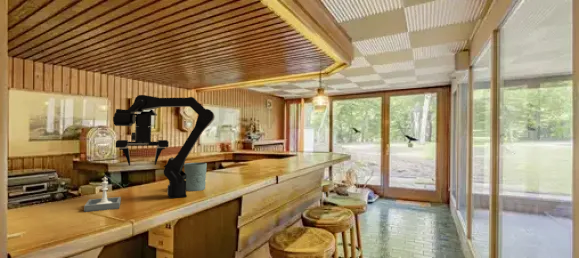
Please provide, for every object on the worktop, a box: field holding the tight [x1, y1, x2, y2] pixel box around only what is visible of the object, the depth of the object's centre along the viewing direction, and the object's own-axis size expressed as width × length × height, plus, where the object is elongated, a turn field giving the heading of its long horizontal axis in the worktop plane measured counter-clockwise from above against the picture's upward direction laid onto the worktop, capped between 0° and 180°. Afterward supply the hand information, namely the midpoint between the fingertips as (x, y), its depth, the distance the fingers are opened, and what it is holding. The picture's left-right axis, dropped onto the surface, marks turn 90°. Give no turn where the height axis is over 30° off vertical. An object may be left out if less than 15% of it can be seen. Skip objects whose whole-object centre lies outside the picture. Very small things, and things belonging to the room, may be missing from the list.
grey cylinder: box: [183, 162, 208, 192], centre depth 132 cm, size 10×10×12 cm
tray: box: [83, 196, 122, 213], centre depth 99 cm, size 10×10×2 cm
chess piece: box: [97, 176, 112, 204], centre depth 99 cm, size 5×5×10 cm
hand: (142, 165), depth 114 cm, fingers open, 9 cm apart
